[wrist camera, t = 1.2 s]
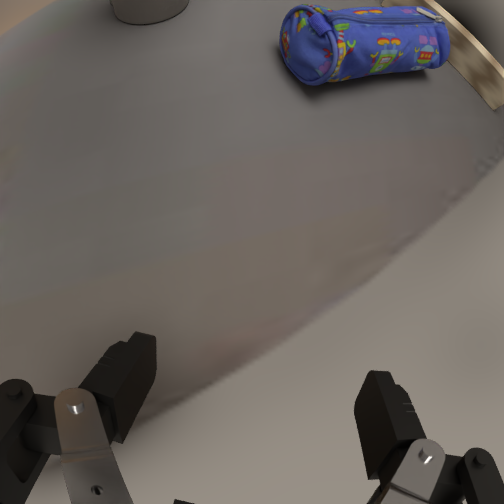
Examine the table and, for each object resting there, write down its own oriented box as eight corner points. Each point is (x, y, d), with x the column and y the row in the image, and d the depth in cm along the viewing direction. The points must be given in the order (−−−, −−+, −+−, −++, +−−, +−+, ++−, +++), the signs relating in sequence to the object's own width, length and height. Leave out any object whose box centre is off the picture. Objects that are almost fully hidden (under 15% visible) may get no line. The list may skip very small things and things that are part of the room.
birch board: (380, 4, 34) (397, -20, 28) (387, 0, 35) (403, -23, 29) (493, 110, 35) (517, 95, 29) (495, 102, 36) (518, 87, 30)
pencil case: (398, 33, 34) (430, -7, 24) (433, 79, 33) (473, 42, 24) (265, 47, 29) (286, -17, 20) (305, 106, 29) (342, 45, 19)
